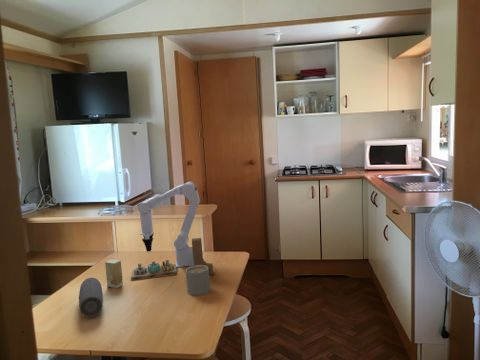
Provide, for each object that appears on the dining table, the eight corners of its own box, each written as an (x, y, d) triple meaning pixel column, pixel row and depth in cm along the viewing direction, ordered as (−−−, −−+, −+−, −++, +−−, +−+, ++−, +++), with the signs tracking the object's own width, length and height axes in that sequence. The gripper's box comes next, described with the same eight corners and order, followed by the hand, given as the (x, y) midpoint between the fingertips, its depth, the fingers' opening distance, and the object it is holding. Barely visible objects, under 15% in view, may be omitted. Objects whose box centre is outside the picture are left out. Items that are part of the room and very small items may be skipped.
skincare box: (107, 286, 189) (104, 261, 187) (113, 283, 193) (111, 258, 191) (117, 288, 186) (114, 263, 184) (123, 285, 190) (121, 260, 188)
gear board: (176, 266, 210) (175, 255, 209) (176, 274, 199) (175, 262, 198) (132, 272, 206) (131, 261, 205) (131, 280, 195) (130, 268, 194)
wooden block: (213, 272, 199) (210, 236, 196) (213, 275, 194) (210, 239, 192) (195, 273, 198) (191, 238, 196) (194, 277, 194) (191, 241, 191)
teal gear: (159, 267, 206) (159, 262, 205) (159, 271, 200) (159, 265, 200) (148, 269, 205) (147, 263, 204) (148, 273, 199) (147, 267, 199)
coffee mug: (209, 294, 172) (207, 272, 171) (186, 296, 172) (184, 273, 171) (211, 282, 186) (209, 261, 184) (189, 284, 186) (187, 263, 184)
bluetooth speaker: (80, 300, 176) (78, 278, 174) (103, 295, 179) (100, 274, 178) (79, 322, 155) (76, 298, 153) (105, 317, 158) (102, 293, 156)
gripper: (139, 221, 217) (142, 246, 219) (138, 228, 203) (140, 254, 205) (152, 220, 218) (155, 244, 220) (152, 226, 204) (154, 252, 206)
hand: (149, 249), depth 213 cm, fingers open, 7 cm apart
